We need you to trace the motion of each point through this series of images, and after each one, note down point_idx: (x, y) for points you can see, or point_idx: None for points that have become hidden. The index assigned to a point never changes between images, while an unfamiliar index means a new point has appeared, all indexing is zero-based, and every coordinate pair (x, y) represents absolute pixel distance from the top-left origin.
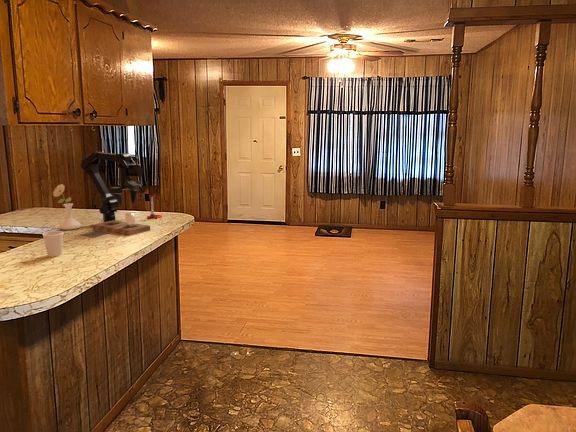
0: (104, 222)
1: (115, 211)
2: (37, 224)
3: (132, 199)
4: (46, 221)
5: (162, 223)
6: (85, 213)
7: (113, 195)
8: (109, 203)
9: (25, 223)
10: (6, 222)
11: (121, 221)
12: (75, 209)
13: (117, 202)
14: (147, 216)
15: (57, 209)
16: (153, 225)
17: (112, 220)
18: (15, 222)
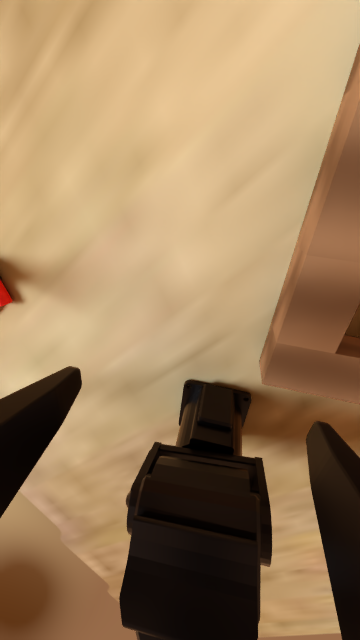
0: (357, 396)
1: (168, 445)
2: (324, 585)
3: (50, 420)
4: (268, 577)
5: (36, 36)
6: (110, 532)
7: (144, 632)
8: (260, 543)
9: (317, 606)
10: (315, 632)
11: (290, 309)
12: (88, 561)
13: (149, 508)
14: (2, 301)
15: (115, 586)
16: (142, 54)
17: (272, 384)
18: (309, 621)
